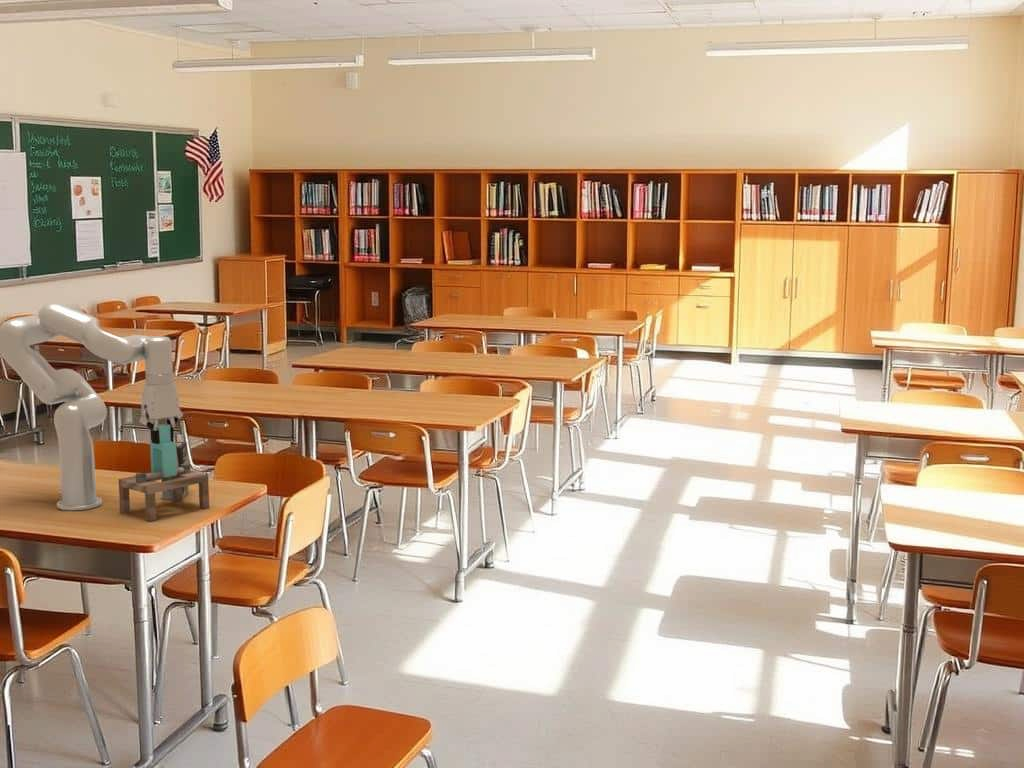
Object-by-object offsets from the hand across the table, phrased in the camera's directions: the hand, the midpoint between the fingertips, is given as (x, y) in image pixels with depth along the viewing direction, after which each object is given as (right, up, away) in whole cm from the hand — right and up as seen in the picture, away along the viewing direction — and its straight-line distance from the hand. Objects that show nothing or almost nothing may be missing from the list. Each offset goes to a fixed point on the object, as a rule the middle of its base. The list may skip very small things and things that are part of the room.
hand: (162, 441), depth 329 cm
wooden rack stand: (0, -20, +3) cm, 21 cm away
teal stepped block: (0, -10, +1) cm, 10 cm away
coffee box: (-2, -18, +20) cm, 27 cm away
